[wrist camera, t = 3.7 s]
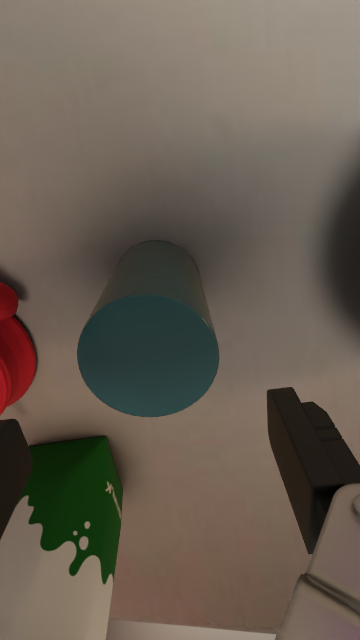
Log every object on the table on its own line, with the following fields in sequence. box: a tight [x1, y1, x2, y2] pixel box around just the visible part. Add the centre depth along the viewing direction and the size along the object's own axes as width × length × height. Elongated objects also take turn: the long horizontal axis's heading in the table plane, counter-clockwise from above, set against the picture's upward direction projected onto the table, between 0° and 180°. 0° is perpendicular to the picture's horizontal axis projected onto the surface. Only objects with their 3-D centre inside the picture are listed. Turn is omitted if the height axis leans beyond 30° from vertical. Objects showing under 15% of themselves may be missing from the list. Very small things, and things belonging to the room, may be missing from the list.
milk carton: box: [0, 436, 123, 640], centre depth 23 cm, size 9×9×20 cm
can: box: [77, 240, 219, 417], centre depth 20 cm, size 6×6×11 cm
